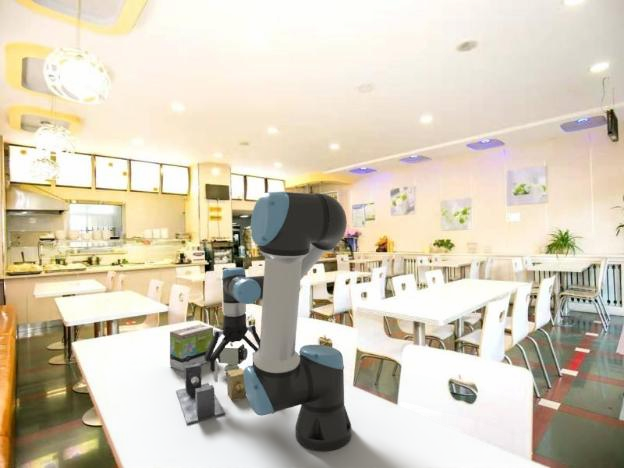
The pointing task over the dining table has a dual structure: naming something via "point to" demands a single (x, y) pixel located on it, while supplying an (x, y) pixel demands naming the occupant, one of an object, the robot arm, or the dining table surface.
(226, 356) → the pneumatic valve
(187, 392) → the base
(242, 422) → the dining table surface
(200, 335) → the tea box
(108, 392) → the dining table surface
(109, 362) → the dining table surface
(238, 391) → the gold metallic block
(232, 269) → the robot arm
